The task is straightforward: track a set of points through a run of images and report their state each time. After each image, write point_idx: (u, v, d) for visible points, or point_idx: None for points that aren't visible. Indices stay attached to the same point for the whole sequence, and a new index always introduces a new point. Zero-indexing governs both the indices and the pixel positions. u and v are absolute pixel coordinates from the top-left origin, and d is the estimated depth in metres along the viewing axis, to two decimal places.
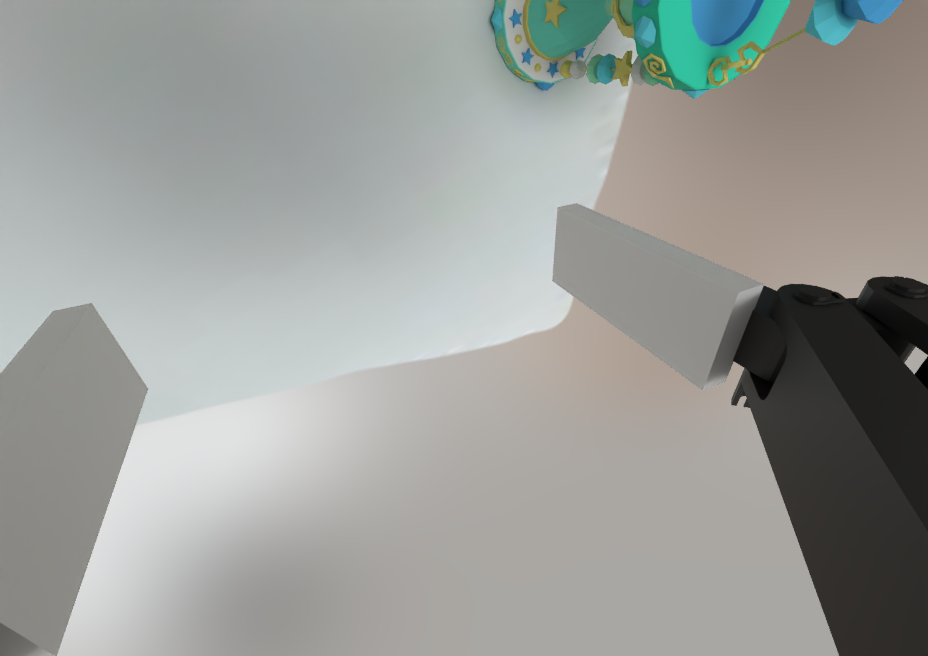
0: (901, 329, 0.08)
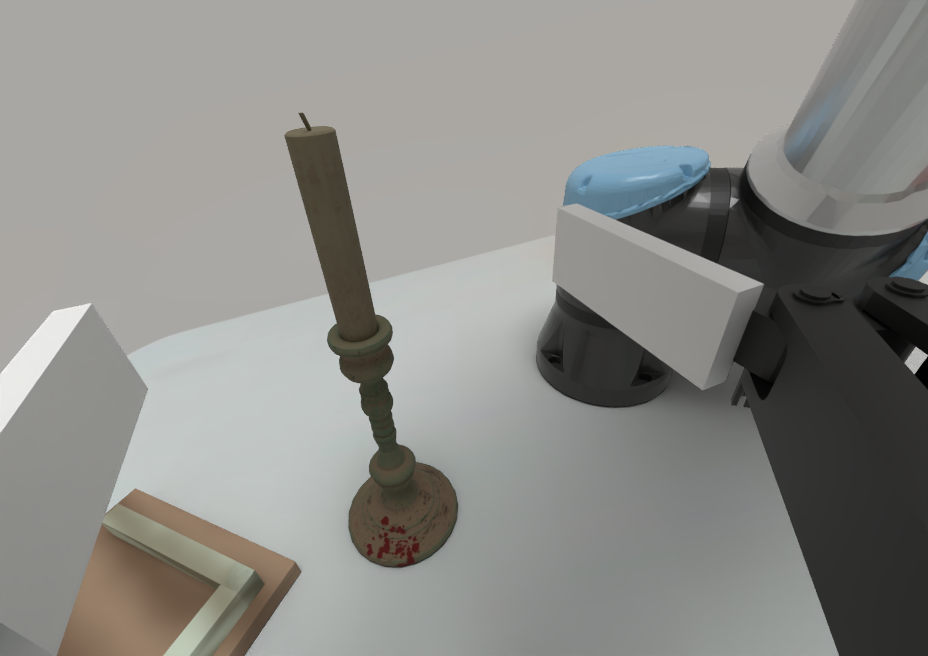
0: (901, 329, 0.08)
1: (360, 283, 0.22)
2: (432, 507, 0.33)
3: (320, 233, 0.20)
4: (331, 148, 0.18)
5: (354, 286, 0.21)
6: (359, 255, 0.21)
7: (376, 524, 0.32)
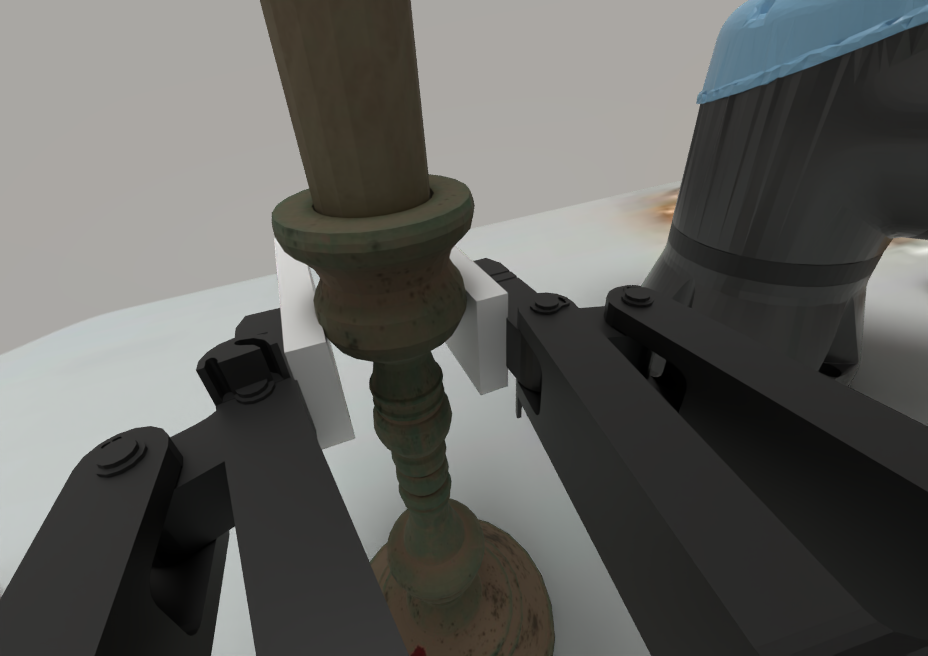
0: None
1: None
2: (511, 622, 0.16)
3: None
4: None
5: None
6: None
7: None
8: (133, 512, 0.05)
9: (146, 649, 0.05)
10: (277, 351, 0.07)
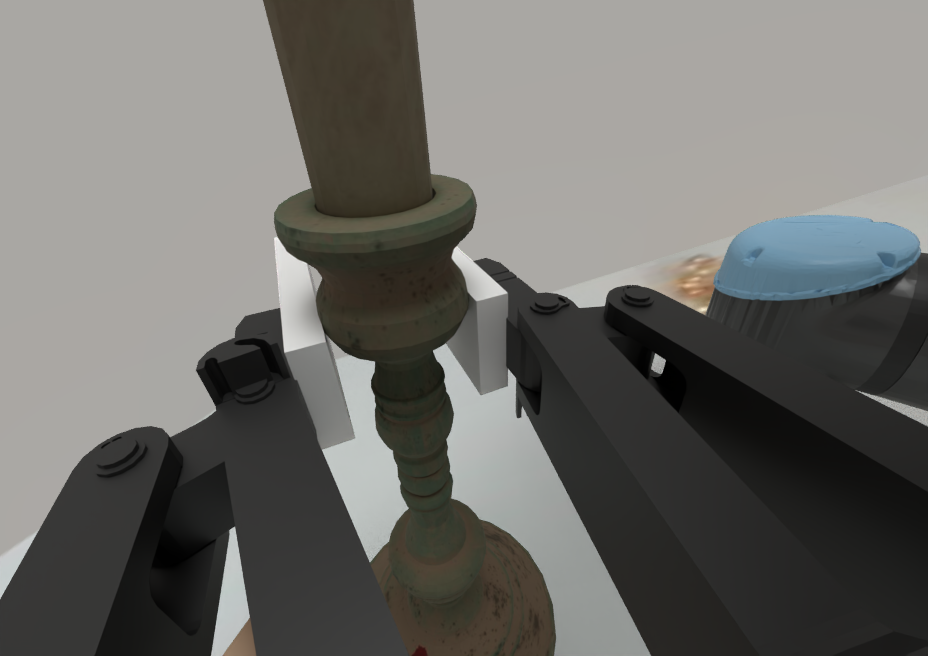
0: None
1: None
2: (512, 622, 0.16)
3: None
4: None
5: None
6: None
7: None
8: (133, 512, 0.05)
9: (146, 649, 0.05)
10: (277, 351, 0.07)
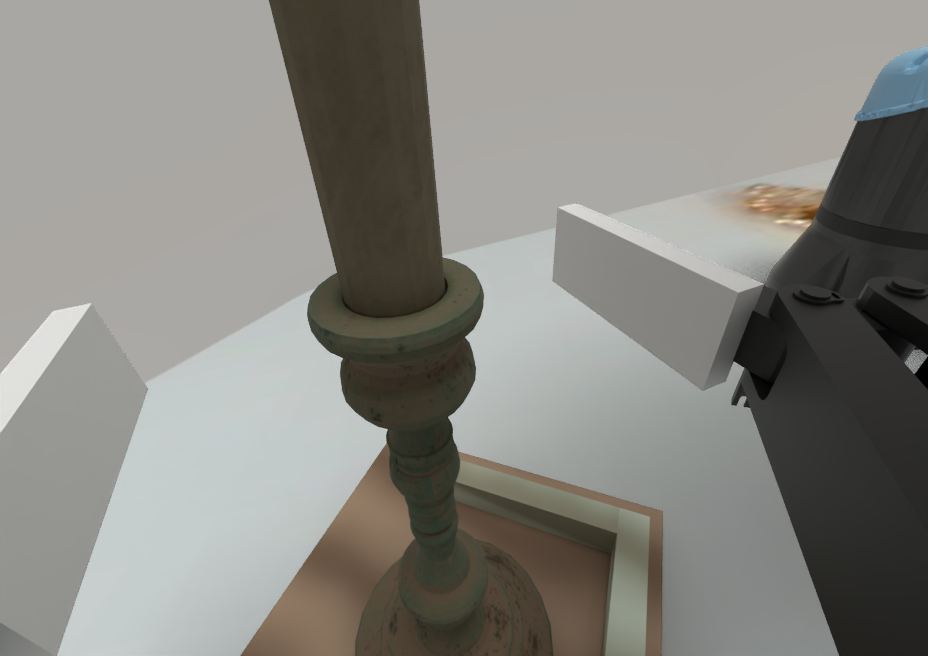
0: (901, 329, 0.08)
1: (414, 113, 0.06)
2: (512, 643, 0.17)
3: None
4: None
5: (394, 117, 0.06)
6: (415, 1, 0.06)
7: None
8: None
9: None
10: None
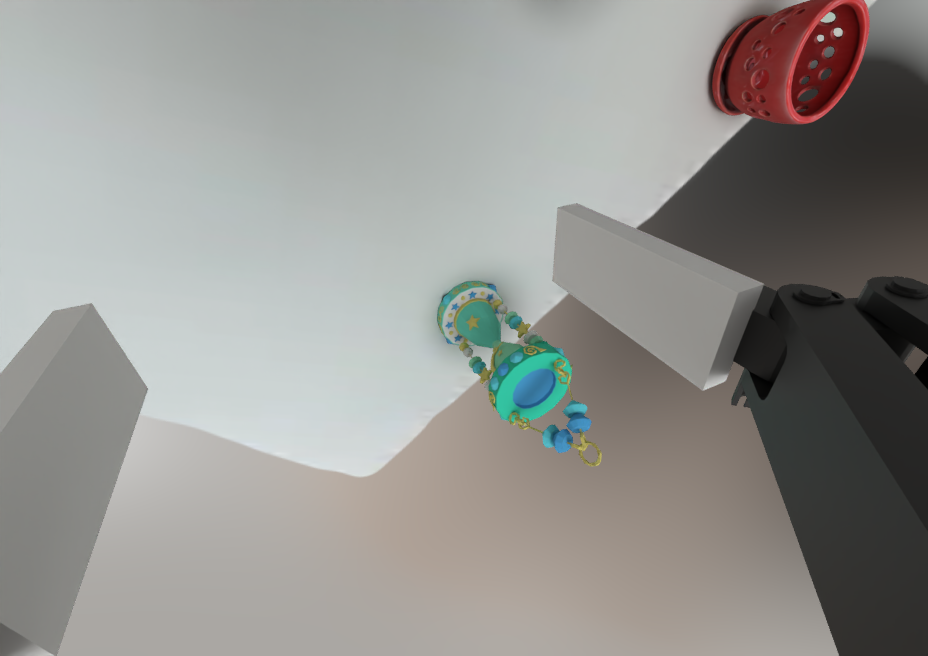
0: (901, 329, 0.08)
1: None
2: None
3: None
4: None
5: None
6: None
7: None
8: None
9: None
10: None
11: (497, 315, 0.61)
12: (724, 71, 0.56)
